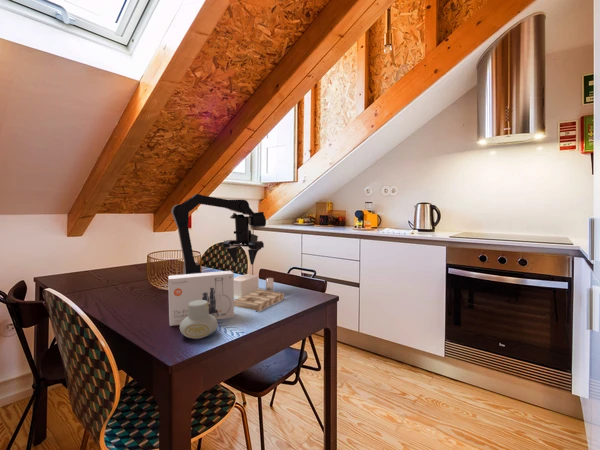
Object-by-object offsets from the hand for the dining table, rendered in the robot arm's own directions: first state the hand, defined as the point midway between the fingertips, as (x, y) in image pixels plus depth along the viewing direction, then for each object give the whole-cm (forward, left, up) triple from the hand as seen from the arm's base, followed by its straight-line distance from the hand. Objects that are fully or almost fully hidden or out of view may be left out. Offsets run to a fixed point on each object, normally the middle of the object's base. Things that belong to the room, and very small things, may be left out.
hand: (243, 263), depth 142 cm
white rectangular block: (0, 0, -13) cm, 13 cm away
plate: (0, 0, -13) cm, 13 cm away
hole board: (-8, -14, -13) cm, 21 cm away
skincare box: (-32, -8, -14) cm, 36 cm away
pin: (+4, -11, -13) cm, 18 cm away
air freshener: (-42, -17, -14) cm, 48 cm away
